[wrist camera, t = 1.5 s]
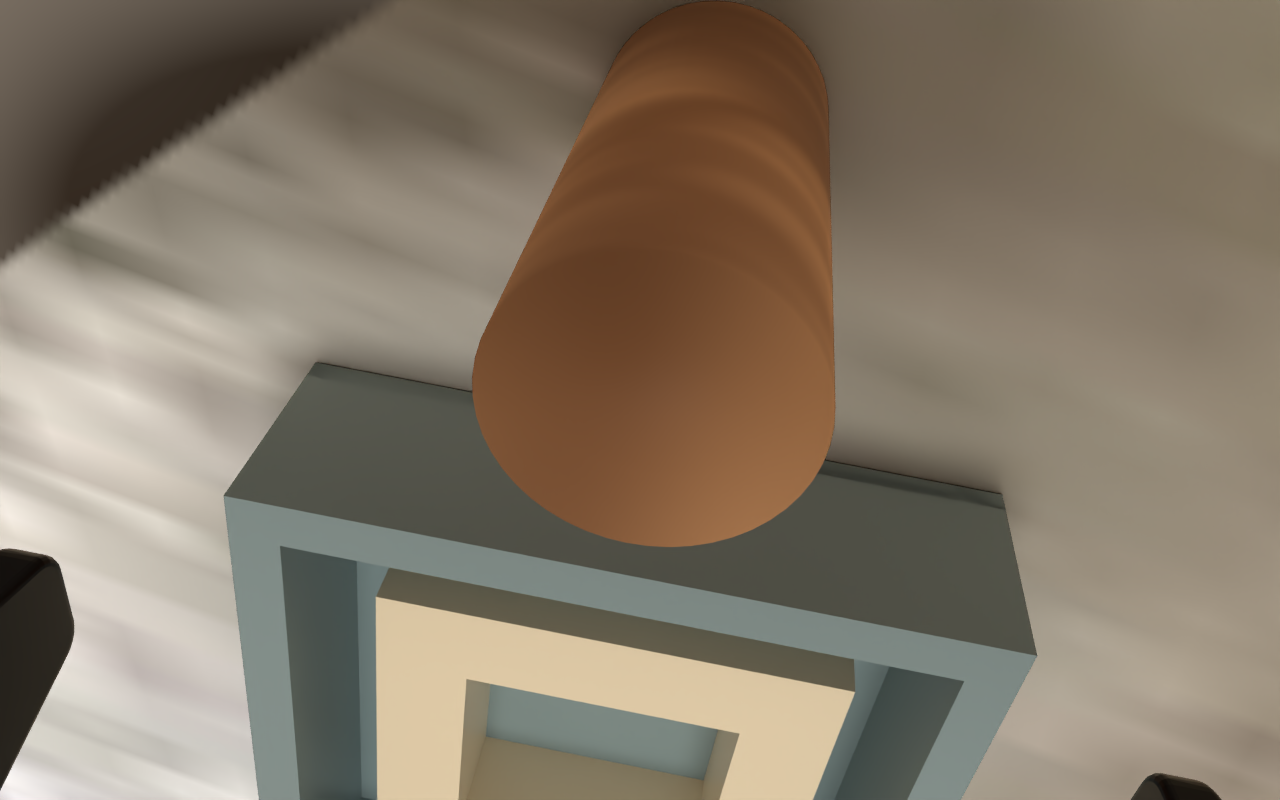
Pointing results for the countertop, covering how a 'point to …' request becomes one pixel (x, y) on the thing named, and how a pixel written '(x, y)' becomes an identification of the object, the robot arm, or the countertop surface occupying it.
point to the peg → (676, 293)
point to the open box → (601, 626)
